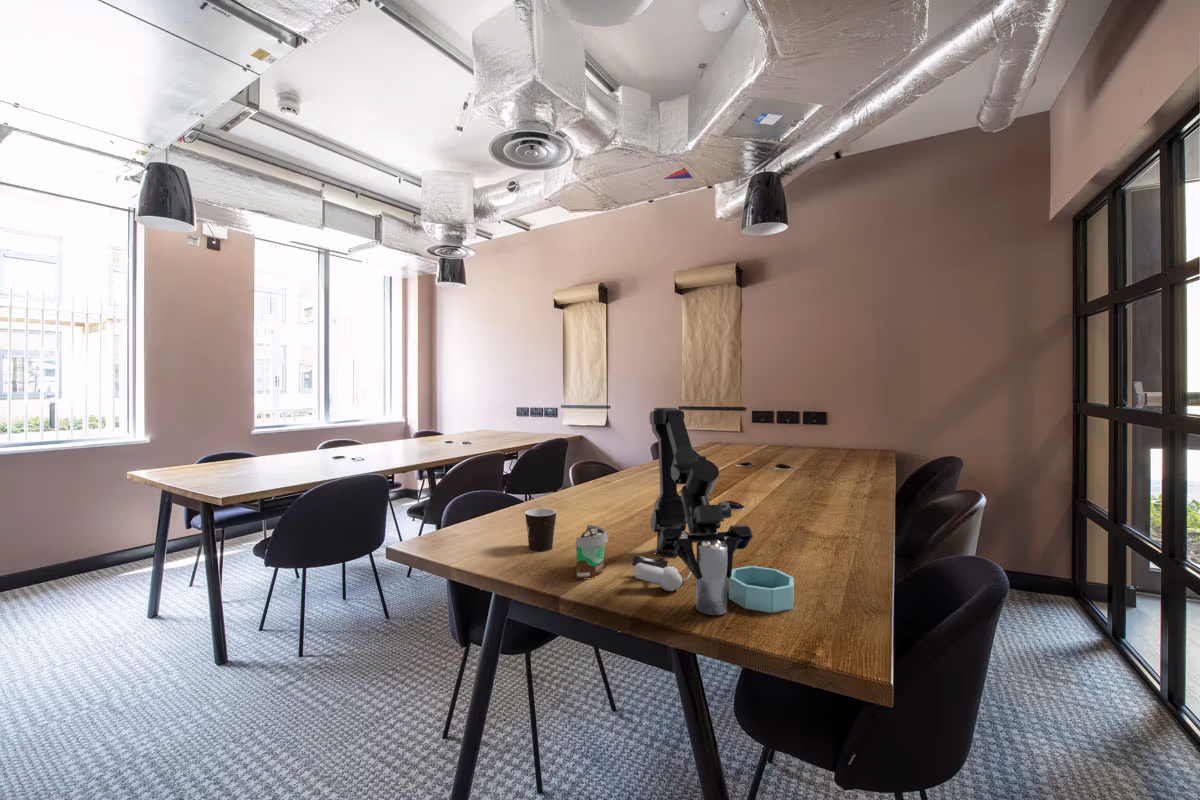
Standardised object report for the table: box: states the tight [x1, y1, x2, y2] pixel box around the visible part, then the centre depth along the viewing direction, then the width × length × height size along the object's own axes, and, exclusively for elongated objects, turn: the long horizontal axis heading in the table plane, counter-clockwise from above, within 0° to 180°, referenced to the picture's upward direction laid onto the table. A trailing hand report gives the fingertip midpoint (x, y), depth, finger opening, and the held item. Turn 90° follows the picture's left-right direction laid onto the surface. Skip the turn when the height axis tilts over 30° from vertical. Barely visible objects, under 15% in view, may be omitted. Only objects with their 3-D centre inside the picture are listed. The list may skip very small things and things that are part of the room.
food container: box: [575, 524, 608, 580], centre depth 116 cm, size 12×6×10 cm, turn 168°
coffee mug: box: [524, 508, 557, 553], centre depth 134 cm, size 12×9×10 cm
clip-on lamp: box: [631, 554, 693, 592], centre depth 110 cm, size 12×6×18 cm
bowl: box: [728, 565, 795, 614], centre depth 102 cm, size 13×13×4 cm
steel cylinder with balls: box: [695, 540, 728, 616], centre depth 97 cm, size 6×6×13 cm
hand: (714, 577), depth 95 cm, fingers closed on steel cylinder with balls, 6 cm apart
